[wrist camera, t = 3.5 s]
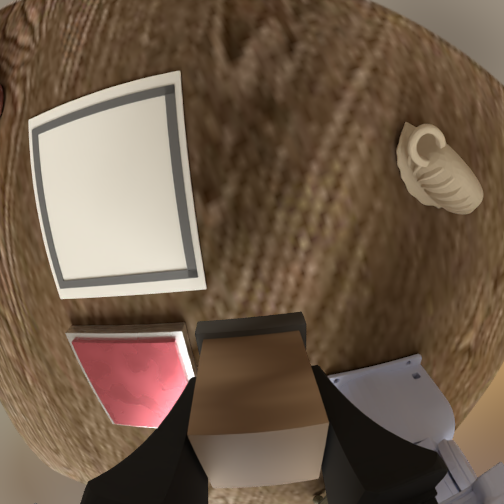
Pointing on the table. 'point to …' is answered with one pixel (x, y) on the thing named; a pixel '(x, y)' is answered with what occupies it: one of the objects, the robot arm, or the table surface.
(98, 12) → the table surface
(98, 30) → the table surface
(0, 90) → the supplement bottle
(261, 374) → the stamp
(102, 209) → the paper card
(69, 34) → the table surface
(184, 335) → the ink pad
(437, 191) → the decorative ornament
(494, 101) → the table surface
